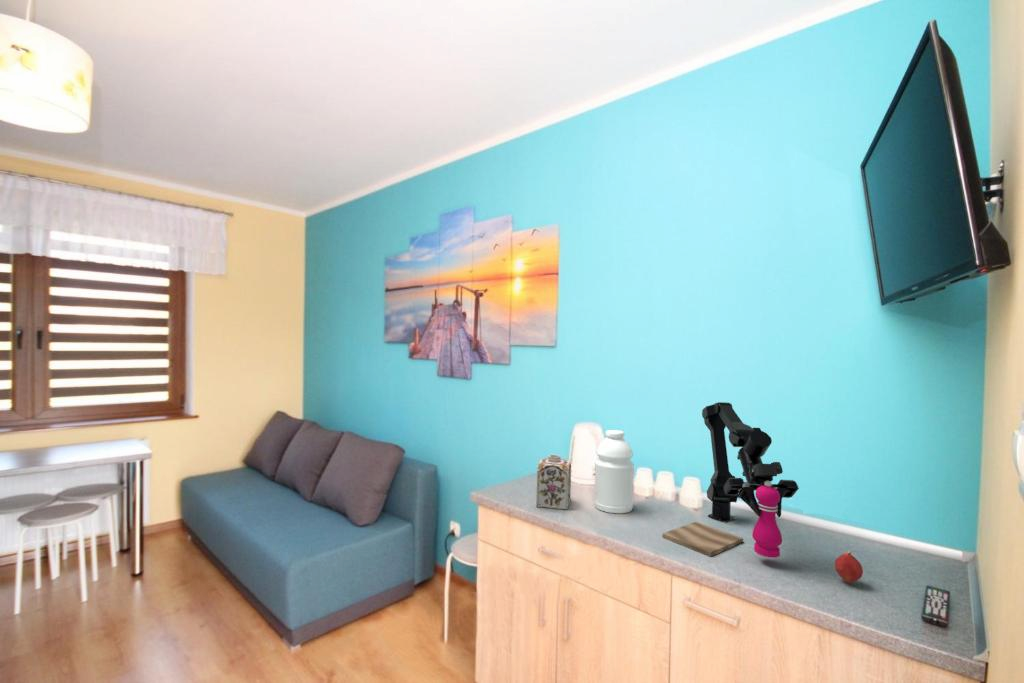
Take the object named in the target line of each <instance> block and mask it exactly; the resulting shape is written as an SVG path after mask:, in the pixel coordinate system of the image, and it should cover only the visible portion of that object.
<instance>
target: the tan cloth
mask: <svg viewBox="0 0 1024 683" xmlns="http://www.w3.org/2000/svg"><path fill="white" fill-rule="evenodd" d="M662 538H663V539H665V538H666V539H665V540H669V541H670V542H673V543H675V544H678V545H680V544H681V546H682V545H683V547H685V548H687V547H688V549H690V548H691V549H690V550H692V551H695V552H698V553H700V554H703V555H704V556H707V557H709V558H711V557H713V556H716V555H718V554H720V553H723V552H724V550H725V551H727V550H729V549H731V548H733V547H735V545H736V546H738V545H740V544H742V543H744V537H740V536H738V535H735V534H732V533H729V532H726V531H724V530H721V529H718V528H715V527H712V526H709V525H706V524H704V523H700V522H698V521H695V522H692V523H688V524H686V525H682V526H680V527H677V528H674V529H671V530H668V531H666V532H662ZM741 542H742V543H741ZM739 543H740V544H739ZM737 544H738V545H737Z"/></svg>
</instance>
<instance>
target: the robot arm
mask: <svg viewBox="0 0 1024 683" xmlns="http://www.w3.org/2000/svg"><path fill="white" fill-rule="evenodd" d="M701 416H702V419H703V422H704V425H705V426H706V427H707V430H709V431H710V432H709V433H710V442H711V451H712V458H713V459H712V460H713V467H714V471H713V474H712V476H711V478H710V483H709V487H708V488H707V490H706V497H707V499H708V500H709V501H710V502H712V503H711V504H712V505H711V513H710V514H708V515H707V517H708V518H712V519H714V520H718V521H720V520H721V522H723V521H724V522H723V523H726V522H729V521H731V519H732V520H734V519H733V518H736V517H735V516H733V515H731V503H737V502H738V499H741V500H742V501H743V502H744V503H745V504H746V505H747V506H748V507H749V508H750V509H751V510H752V512H754V514H755V515H756V516H757V517H758V518H759V517H760V516H761V513H760V509H759V506H758V504H757V503H758V502H757V501H758V500H757V498H756V494H755V491H756V490H757V488H758V487H760V486H764V485H765V484H764V482H765V481H767V480H768V481H770V482H773V481H774V478H773V477H777V476H778V475H781V474H783V472H784V471H783V467H782V465H781V462H780V461H773V462H771V463H763V460H762V457H763V456H764V455H765V454H766V452H767V451H768V449H769V448H770V446H771V444H772V438H771V436H770V435H769V434H768V433H766V432H765V431H763V430H761V427H752V426H751V425H748V424H746V423H744V422H743V420H741V418H740V417H739V416H738V414H737V412H736V411H735V410H734V408H733V405H732V403H731V402H725V401H724V402H721V401H718V402H715V403H713V404H710V405H706V406H705V407H704V408H703V409H702V412H701ZM726 428H727V430H728V431H729V433H728V439H729V443H730V444H731V446H732V447H733V448H740V449H739V450H738V452H737V457H736V458H737V460H739V461H740V465H741V468H742V470H743V471H742V477H745V480H746V481H745V480H744V479H743V478H742V477H736V476H735V475H732V473H731V472H730V467H729V458H728V451H727V442H726V435H725V434H726V433H725V429H726ZM771 484H772V485H771V487H774V488H775V489H777V490H778V492H779V494H780V501H779V502H778V503H777V505H778V508H777V509H778V511H776V517H778V518H781V516H782V504H783V503H782V502H783V498H787V499H789V498H793V497H794V495H795V494H796V493H797V492H798V490H799V489H800V488H799V486H798V484H797V481H795V480H794V479H780V480H779V481H778V483H777V484H776V483H771Z"/></svg>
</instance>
